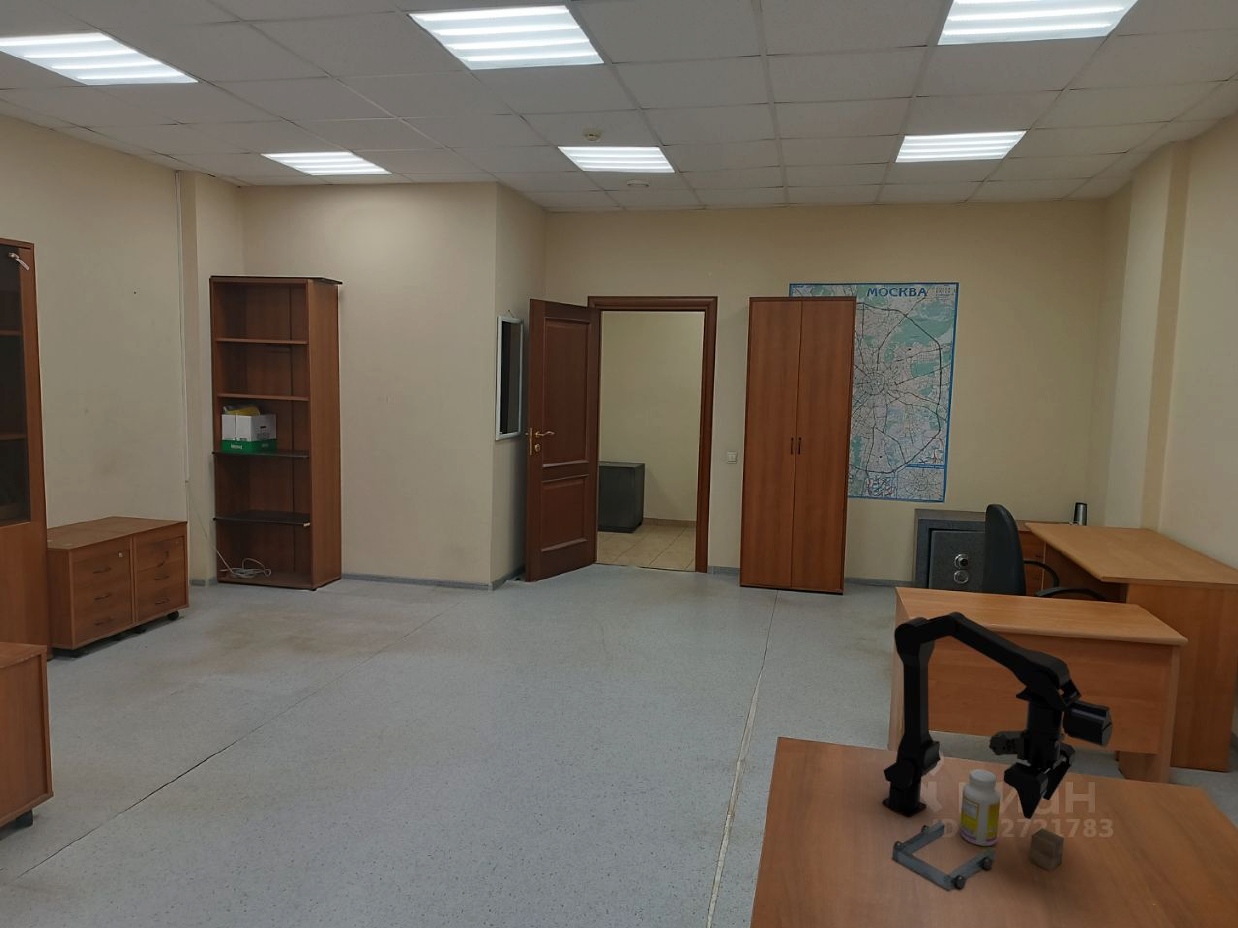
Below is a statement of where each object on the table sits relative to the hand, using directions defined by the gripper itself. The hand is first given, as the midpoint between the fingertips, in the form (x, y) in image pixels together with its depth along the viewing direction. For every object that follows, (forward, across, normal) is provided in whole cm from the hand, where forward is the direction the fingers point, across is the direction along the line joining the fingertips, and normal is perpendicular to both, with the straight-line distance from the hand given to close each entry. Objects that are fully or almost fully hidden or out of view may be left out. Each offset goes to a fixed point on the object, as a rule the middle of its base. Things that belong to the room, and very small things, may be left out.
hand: (1037, 808), depth 152 cm
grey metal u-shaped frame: (+10, +12, -12) cm, 19 cm away
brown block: (+11, -2, +2) cm, 11 cm away
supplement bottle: (+11, 0, -10) cm, 15 cm away
